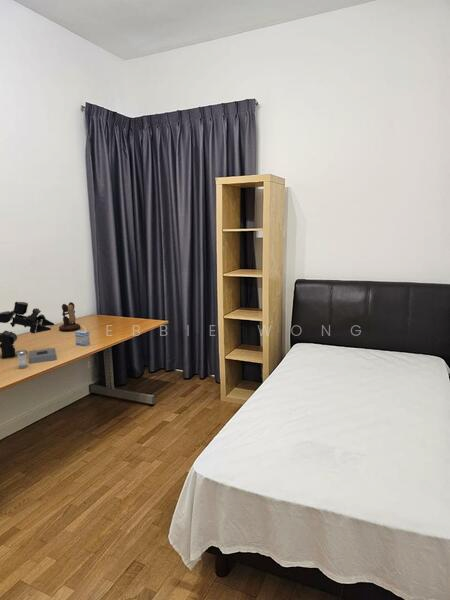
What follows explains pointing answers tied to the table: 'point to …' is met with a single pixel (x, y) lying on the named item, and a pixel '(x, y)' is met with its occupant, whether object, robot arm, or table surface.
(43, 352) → the socket block
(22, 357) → the silver flanged peg
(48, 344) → the table surface
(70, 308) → the brown figurine
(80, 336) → the medicine box
